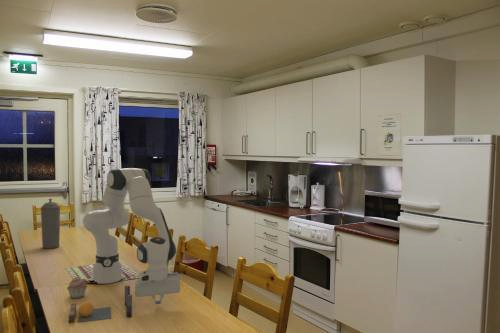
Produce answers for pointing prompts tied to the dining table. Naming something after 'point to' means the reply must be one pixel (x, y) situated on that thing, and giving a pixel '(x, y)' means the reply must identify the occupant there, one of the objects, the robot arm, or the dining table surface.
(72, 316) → the stopper wall
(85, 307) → the ball
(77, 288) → the cupcake
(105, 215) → the robot arm
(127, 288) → the post
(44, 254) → the dining table surface
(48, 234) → the canister
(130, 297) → the post
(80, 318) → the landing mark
